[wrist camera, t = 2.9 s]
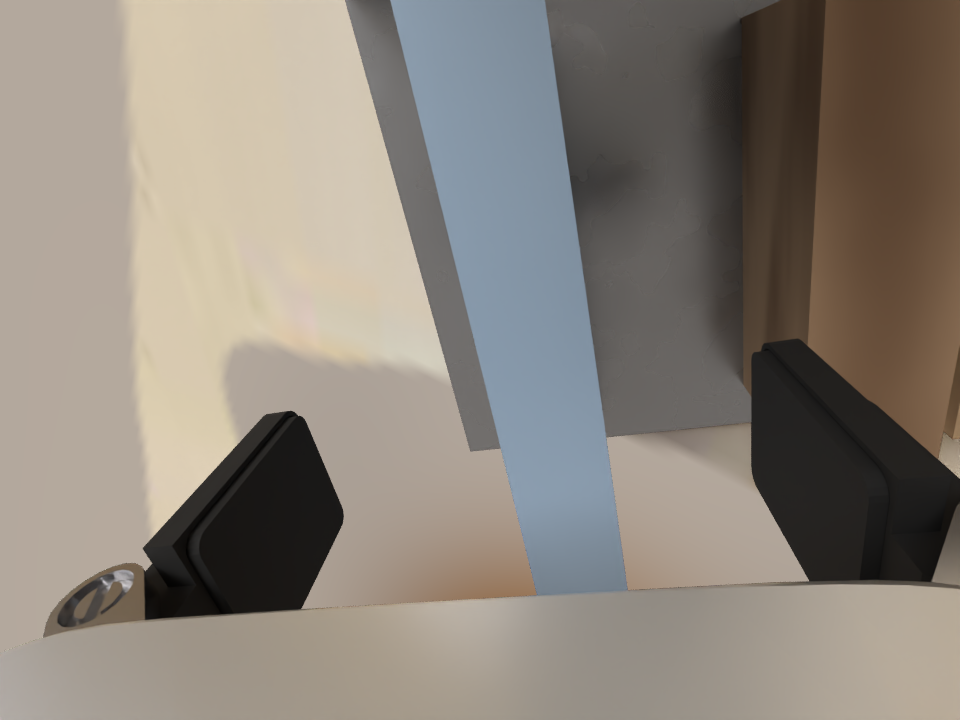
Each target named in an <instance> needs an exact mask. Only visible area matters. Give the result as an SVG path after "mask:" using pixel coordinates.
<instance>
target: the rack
mask: <svg viewBox="0 0 960 720" xmlns="http://www.w3.org/2000/svg"><path fill="white" fill-rule="evenodd" d="M345 1H346V5H347V9H348V12H349V16H350V19H351V23H352V27H353V30H354V34H355V37H356V41H357V45H358V48H359V52H360V56H361V59H362V63H363V66H364V70H365V74H366V77H367V81H368V84H369V88H370V92H371V95H372V99H373V102H374V106H375V110H376V113H377V117H378V120H379V124H380V128H381V131H382V135H383V138H384V142H385V146H386V149H387V153H388V156H389V160H390V164H391V167H392V171H393V174H394V178H395V182H396V185H397V189H398V192H399V196H400V200H401V203H402V207H403V210H404V214H405V218H406V221H407V225H408V228H409V232H410V236H411V239H412V243H413V246H414V250H415V254H416V257H417V261H418V264H419V268H420V272H421V275H422V279H423V282H424V286H425V290H426V293H427V297H428V300H429V304H430V308H431V311H432V315H433V318H434V322H435V326H436V329H437V333H438V336H439V340H440V344H441V347H442V351H443V354H444V358H445V362H446V365H447V369H448V372H449V376H450V380H451V383H452V387H453V390H454V394H455V398H456V401H457V405H458V408H459V412H460V416H461V419H462V423H463V426H464V430H465V433H466V437H467V441H468V444H469V448H470V451H479V450H488V449H499V448H501V447H500V443H499V439H498V435H497V431H496V427H495V423H494V419H493V415H492V411H491V407H490V402H489V398H488V394H487V390H486V386H485V382H484V378H483V374H482V370H481V366H480V362H479V358H478V354H477V350H476V346H475V342H474V338H473V334H472V329H471V325H470V321H469V317H468V313H467V309H466V305H465V301H464V297H463V293H462V289H461V285H460V281H459V277H458V273H457V269H456V265H455V261H454V256H453V252H452V248H451V244H450V240H449V236H448V232H447V228H446V224H445V220H444V216H443V212H442V208H441V204H440V200H439V196H438V192H437V188H436V183H435V179H434V175H433V171H432V167H431V163H430V159H429V155H428V151H427V147H426V143H425V139H424V135H423V131H422V127H421V123H420V119H419V115H418V111H417V106H416V102H415V98H414V94H413V90H412V86H411V82H410V78H409V74H408V70H407V66H406V62H405V58H404V54H403V50H402V46H401V42H400V38H399V33H398V29H397V25H396V21H395V17H394V13H393V9H392V5H391V1H390V0H345ZM778 1H780V0H545V5H546V12H547V19H548V26H549V33H550V41H551V48H552V55H553V62H554V69H555V76H556V83H557V90H558V98H559V105H560V112H561V119H562V126H563V133H564V140H565V147H566V155H567V162H568V169H569V176H570V183H571V190H572V197H573V204H574V212H575V219H576V226H577V233H578V240H579V247H580V254H581V261H582V268H583V276H584V283H585V290H586V297H587V304H588V311H589V318H590V325H591V333H592V340H593V347H594V354H595V361H596V368H597V375H598V382H599V390H600V397H601V404H602V411H603V418H604V425H605V432H606V437H614V436H623V435H633V434H643V433H652V432H662V431H671V430H681V429H690V428H700V427H710V426H719V425H729V424H738V423H748V422H751V396H750V394H749V393H748V391H747V390H746V388H745V387H744V383H743V195H742V17H745V16H747V15H749V14H751V13H754V12H756V11H758V10H760V9H763V8H765V7H767V6H769V5H771V4H774V3H776V2H778Z"/></svg>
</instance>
